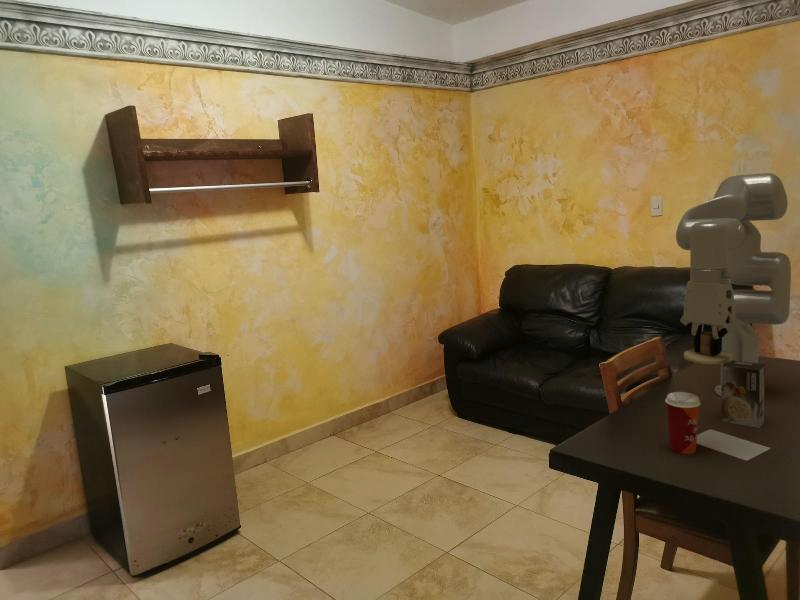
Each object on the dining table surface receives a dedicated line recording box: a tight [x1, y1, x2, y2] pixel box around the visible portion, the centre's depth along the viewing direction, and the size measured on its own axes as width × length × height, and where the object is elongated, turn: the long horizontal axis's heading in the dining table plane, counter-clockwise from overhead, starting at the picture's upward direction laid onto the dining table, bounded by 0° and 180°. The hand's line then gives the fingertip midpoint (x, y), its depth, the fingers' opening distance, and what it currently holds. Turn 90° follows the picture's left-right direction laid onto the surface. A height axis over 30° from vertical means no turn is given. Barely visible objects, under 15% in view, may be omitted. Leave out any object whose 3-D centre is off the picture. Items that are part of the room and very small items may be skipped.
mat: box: [696, 429, 772, 462], centre depth 142 cm, size 10×15×1 cm, turn 30°
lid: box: [683, 331, 732, 365], centre depth 137 cm, size 10×10×6 cm
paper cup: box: [664, 391, 702, 455], centre depth 140 cm, size 8×8×14 cm
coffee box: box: [720, 360, 766, 429], centre depth 153 cm, size 9×6×16 cm
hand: (707, 352), depth 137 cm, fingers closed on lid, 3 cm apart
